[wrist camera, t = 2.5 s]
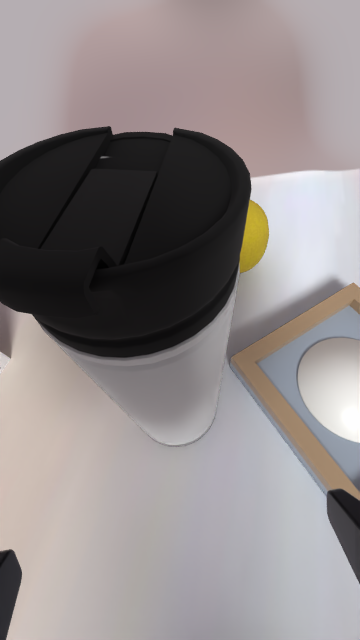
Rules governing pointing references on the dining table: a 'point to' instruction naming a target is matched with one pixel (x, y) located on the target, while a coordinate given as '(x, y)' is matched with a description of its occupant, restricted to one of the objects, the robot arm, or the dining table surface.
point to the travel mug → (130, 263)
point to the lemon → (254, 237)
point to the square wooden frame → (313, 387)
